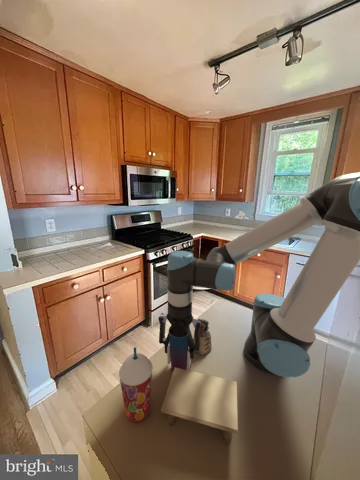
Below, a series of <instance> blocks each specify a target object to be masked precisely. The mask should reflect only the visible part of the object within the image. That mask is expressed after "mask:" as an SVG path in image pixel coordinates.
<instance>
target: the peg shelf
mask: <svg viewBox="0 0 360 480" xmlns="http://www.w3.org/2000/svg"><path fill="white" fill-rule="evenodd" d="M237 383H238V382H237V380H236V381H235V380H231V379H227V378H223V377H219V376H214V375H209V374H206V373H201V372H198V371H197V372H196V371H193V370H189V369H188V370H187V369H186V370H184V369H179V368H174V371H173V372H172V375H171V378H170V381H169V384H168V387H167V390H166V392H165V396H164V399H163V403H162V406H161V409H160V410H161V413H163V414H167V423H168V425H169V426H173V425H175V424H176V417H177V418H180V419H184V420H187V421H190V422H195V423H198V424H201V425H205V426H209V427H212V428H216V429H219V430H222V439H223V441H224V442H226V443H230V442H231V441H232V436H233V435H232V434H237V435H238V431H239V429H238V428H239V427H238V426H239V425H238V422H239V421H238V386H237V385H238V384H237Z"/></svg>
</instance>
